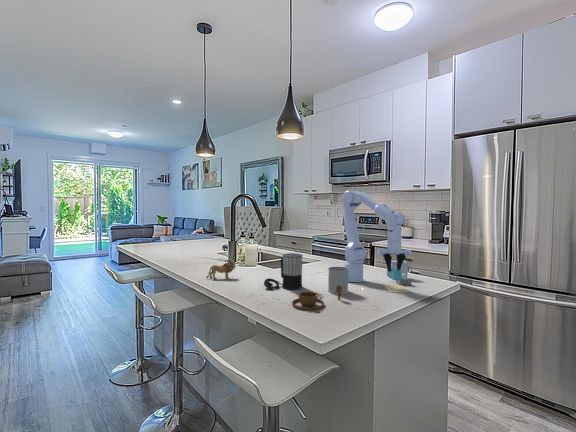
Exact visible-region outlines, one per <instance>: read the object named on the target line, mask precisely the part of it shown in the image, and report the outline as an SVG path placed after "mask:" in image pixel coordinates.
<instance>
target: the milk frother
mask: <svg viewBox="0 0 576 432" xmlns="http://www.w3.org/2000/svg"><path fill="white" fill-rule="evenodd" d="M303 256H304V255H303V254H301V253H296V252H295V253H294V252H293V253H291V252H290V253H289V252H287V253H283V254H282V257H281V259H280V275H281V278H282V283H281V282H279V281H278V280H276V279H274V278H266V279H264V281H263V286H264V287H266V288H267V289H268V288H270V289H271V290H275V289H277V290H278V289H279V287H280V285H281V287H282V289H285V288H286V289H285V290H291V289H294V290H300V289H302V288H303V276H302V275H303ZM273 284H276V285H273ZM270 289H269V290H270Z"/></svg>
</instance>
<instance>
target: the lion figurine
mask: <svg viewBox="0 0 576 432" xmlns="http://www.w3.org/2000/svg"><path fill="white" fill-rule="evenodd" d="M236 267H237V266H236V260H234V259H230V260H228V261H227V262H225V263H224V264H222V265H217V264H213V265H212V266H210V268H209V272H208V273H207V274H208V275H207V276H206V277H205V279H208V278H213V279H214V280H217V277H216V272H217V273H220V274H225V275H224V277H225V279H227V280H229V279H230V278H229V273H232V272H233V271H234V270H235V268H236Z"/></svg>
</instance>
